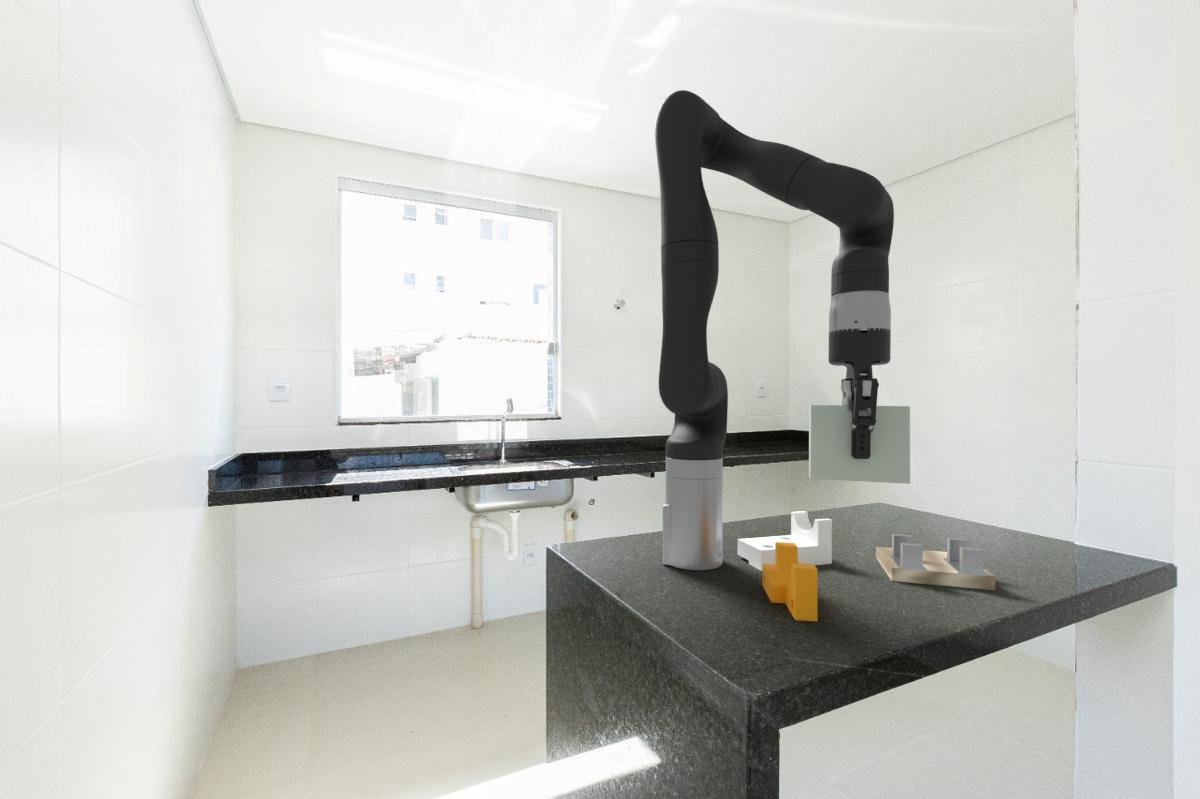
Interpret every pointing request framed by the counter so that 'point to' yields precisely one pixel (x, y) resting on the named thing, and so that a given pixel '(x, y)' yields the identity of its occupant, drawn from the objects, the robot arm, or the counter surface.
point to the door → (835, 445)
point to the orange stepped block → (792, 582)
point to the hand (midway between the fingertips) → (857, 456)
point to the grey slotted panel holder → (957, 558)
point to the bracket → (809, 541)
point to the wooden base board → (933, 572)
